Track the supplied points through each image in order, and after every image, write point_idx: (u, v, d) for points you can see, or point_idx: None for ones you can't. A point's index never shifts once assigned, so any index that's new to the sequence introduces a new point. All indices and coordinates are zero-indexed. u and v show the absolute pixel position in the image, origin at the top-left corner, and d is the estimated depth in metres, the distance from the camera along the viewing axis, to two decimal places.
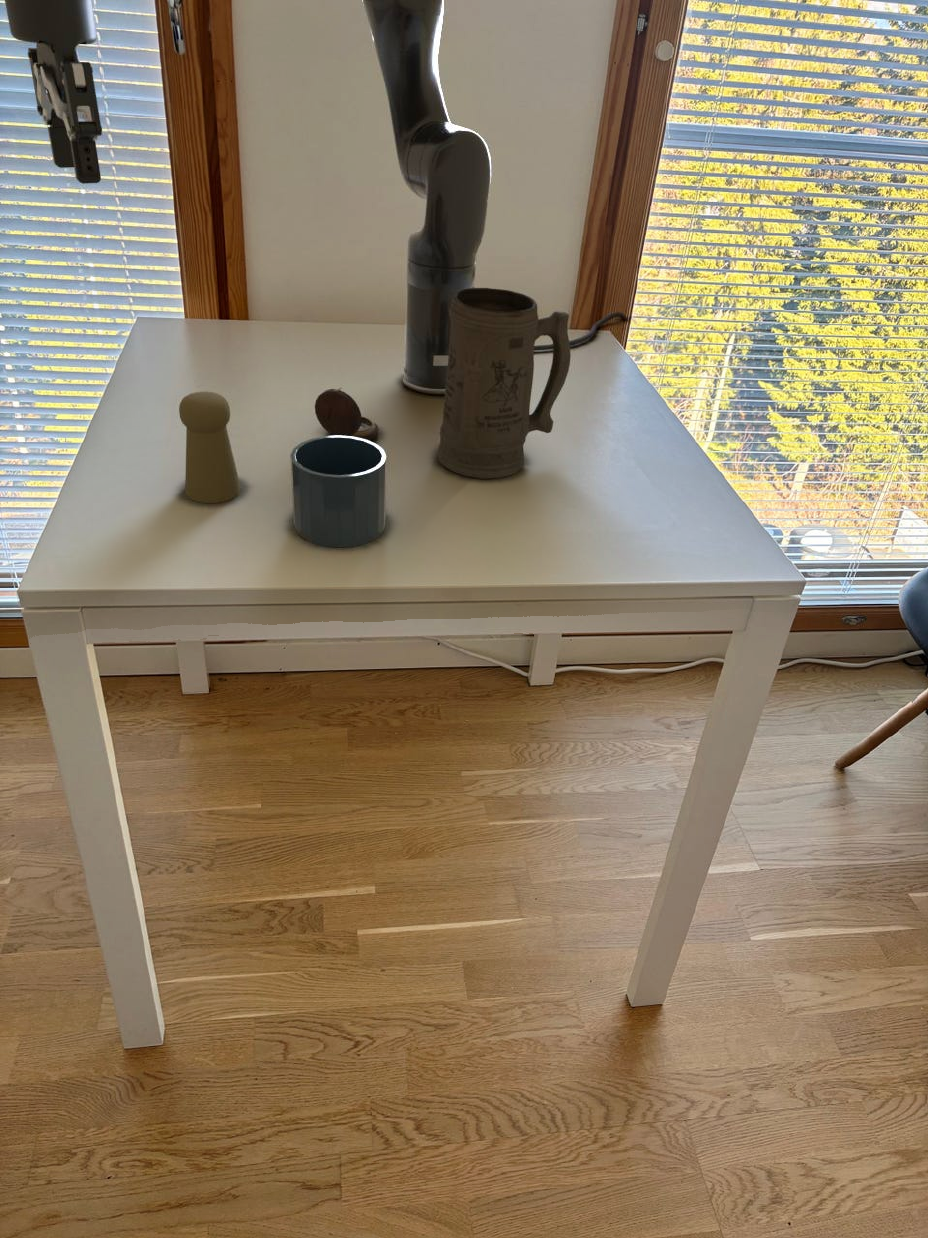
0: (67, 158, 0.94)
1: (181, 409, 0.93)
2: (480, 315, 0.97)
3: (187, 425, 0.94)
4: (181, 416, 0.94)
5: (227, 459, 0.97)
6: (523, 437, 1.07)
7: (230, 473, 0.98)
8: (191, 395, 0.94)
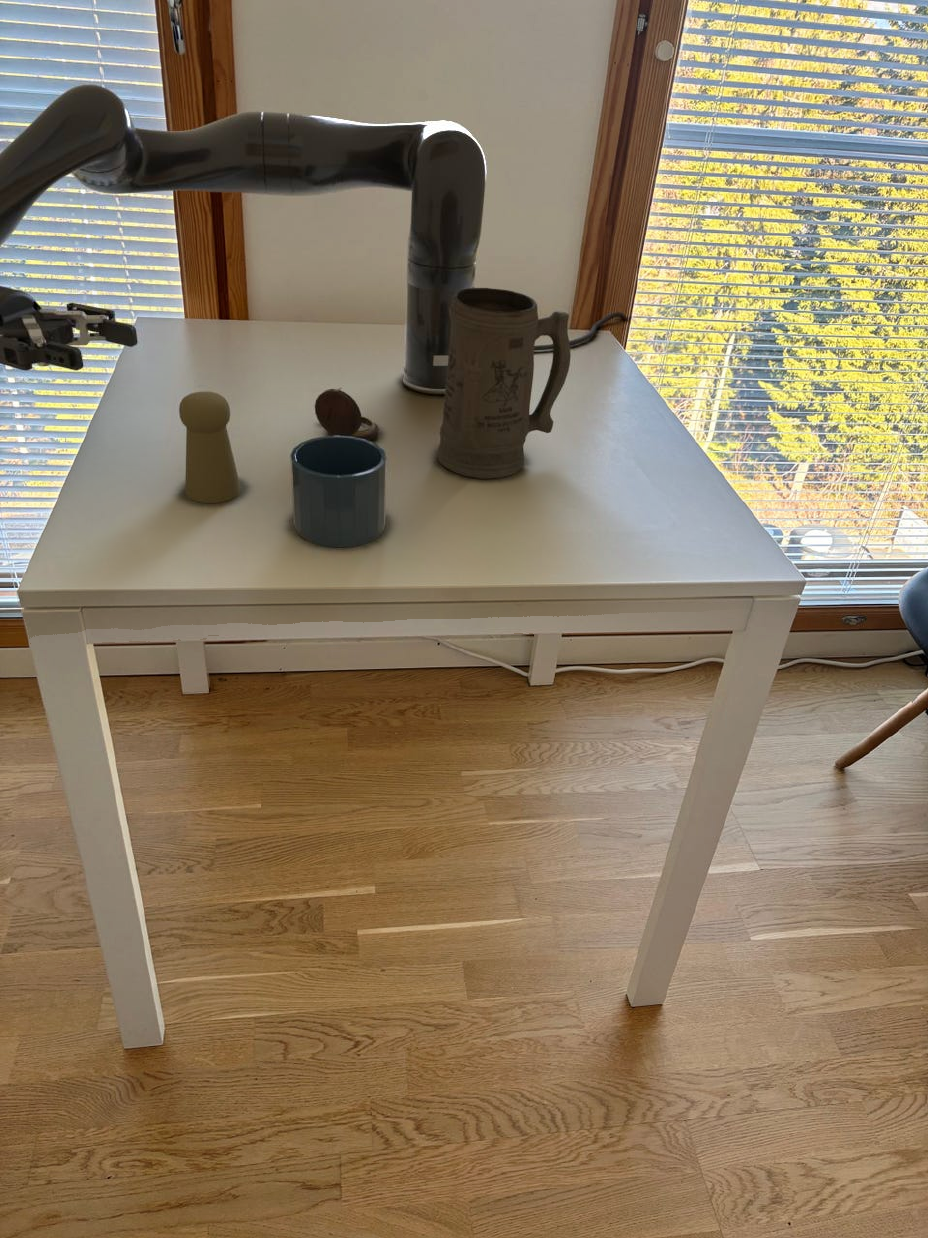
0: (126, 334, 0.98)
1: (181, 409, 0.93)
2: (480, 315, 0.97)
3: (187, 425, 0.94)
4: (181, 416, 0.94)
5: (227, 459, 0.97)
6: (523, 437, 1.07)
7: (230, 473, 0.98)
8: (191, 395, 0.94)
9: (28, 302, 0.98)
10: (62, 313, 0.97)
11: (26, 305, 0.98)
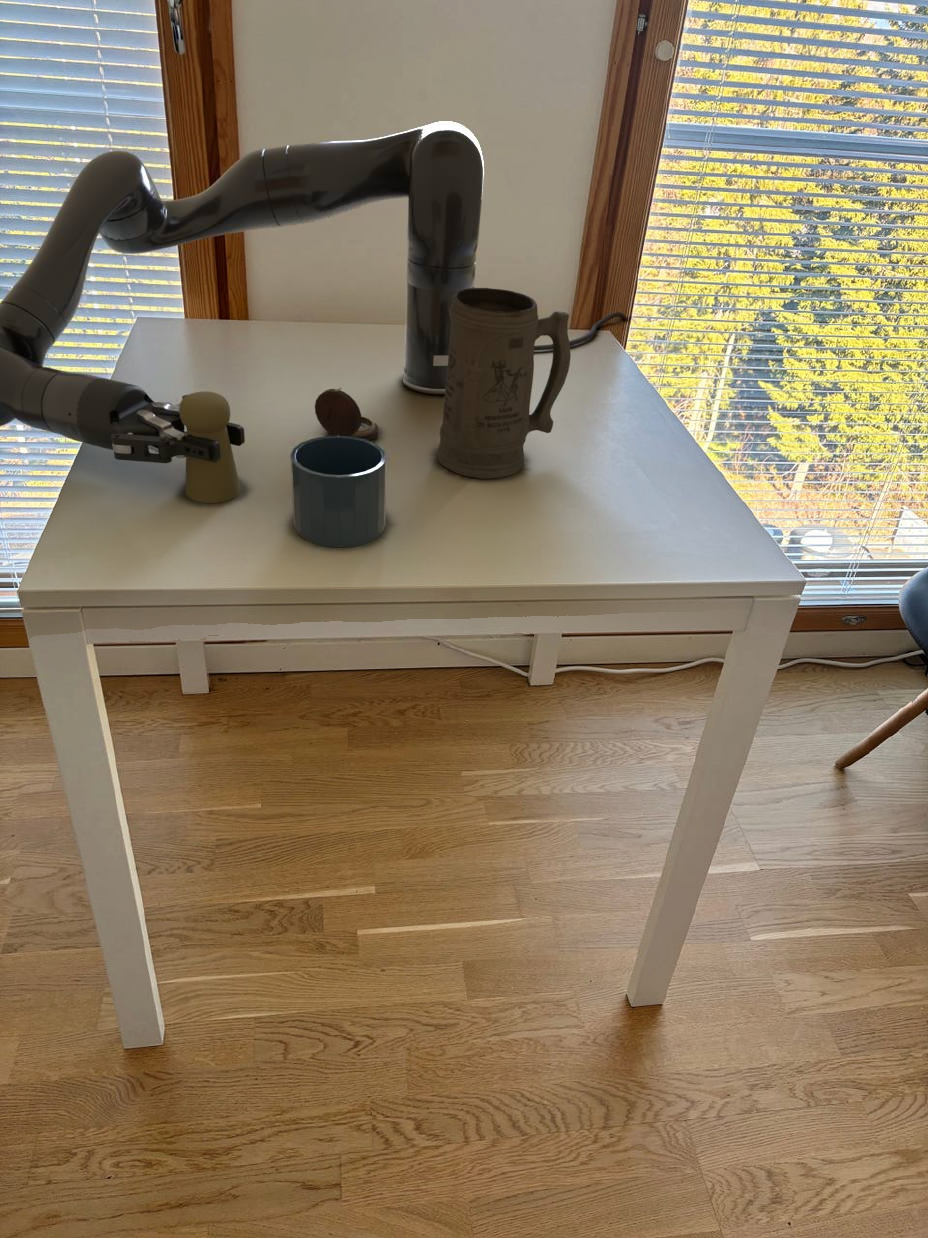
0: (234, 434, 0.98)
1: (182, 409, 0.93)
2: (480, 315, 0.97)
3: (187, 425, 0.94)
4: (181, 416, 0.94)
5: (227, 459, 0.97)
6: (523, 437, 1.07)
7: (230, 473, 0.98)
8: (191, 395, 0.94)
9: (140, 395, 0.99)
10: (174, 406, 0.99)
11: (138, 399, 0.99)
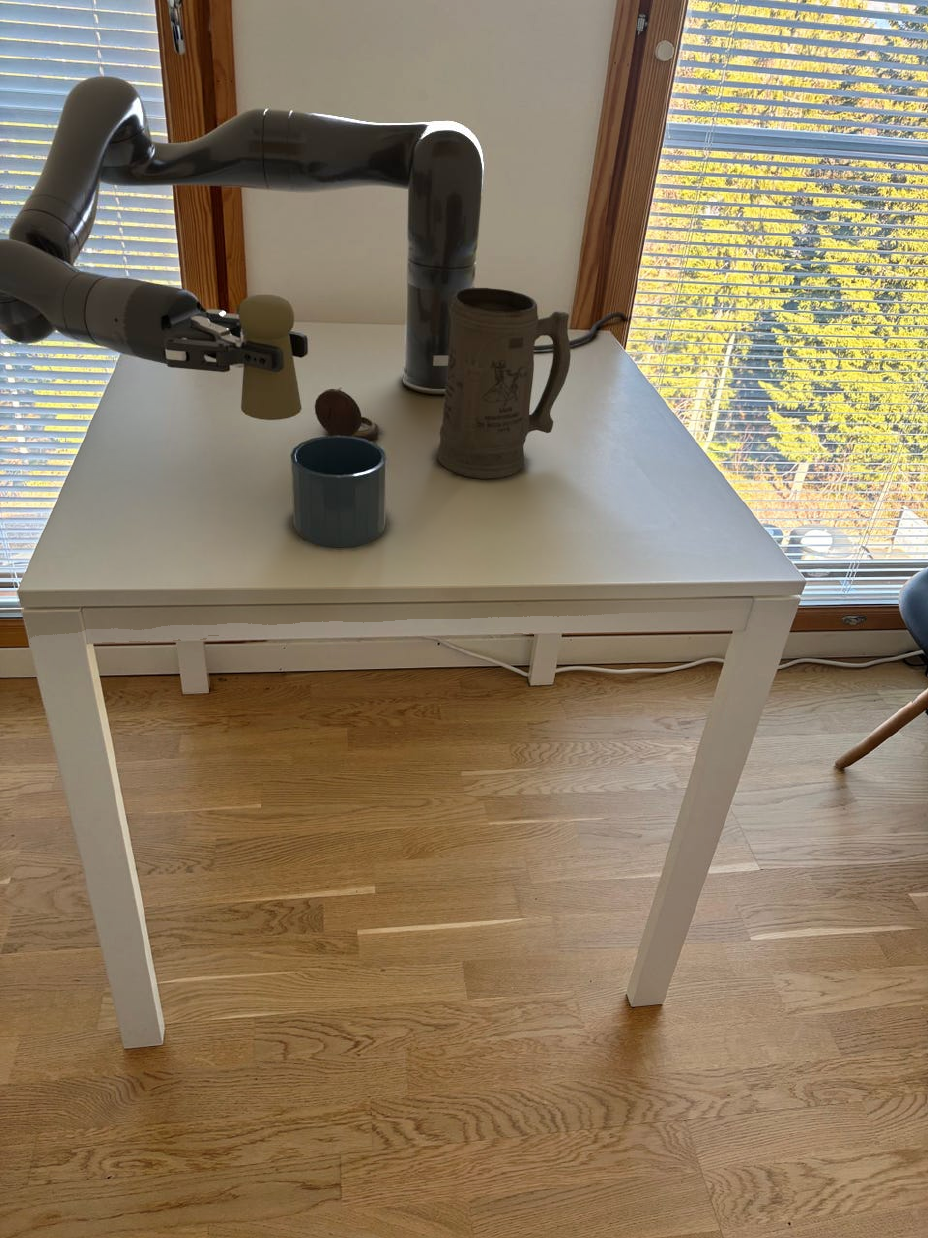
0: (296, 344, 0.89)
1: (242, 311, 0.84)
2: (480, 315, 0.97)
3: (248, 329, 0.85)
4: (241, 320, 0.85)
5: (289, 371, 0.88)
6: (523, 437, 1.07)
7: (291, 387, 0.89)
8: (252, 297, 0.85)
9: (193, 302, 0.91)
10: (230, 314, 0.90)
11: (191, 306, 0.90)
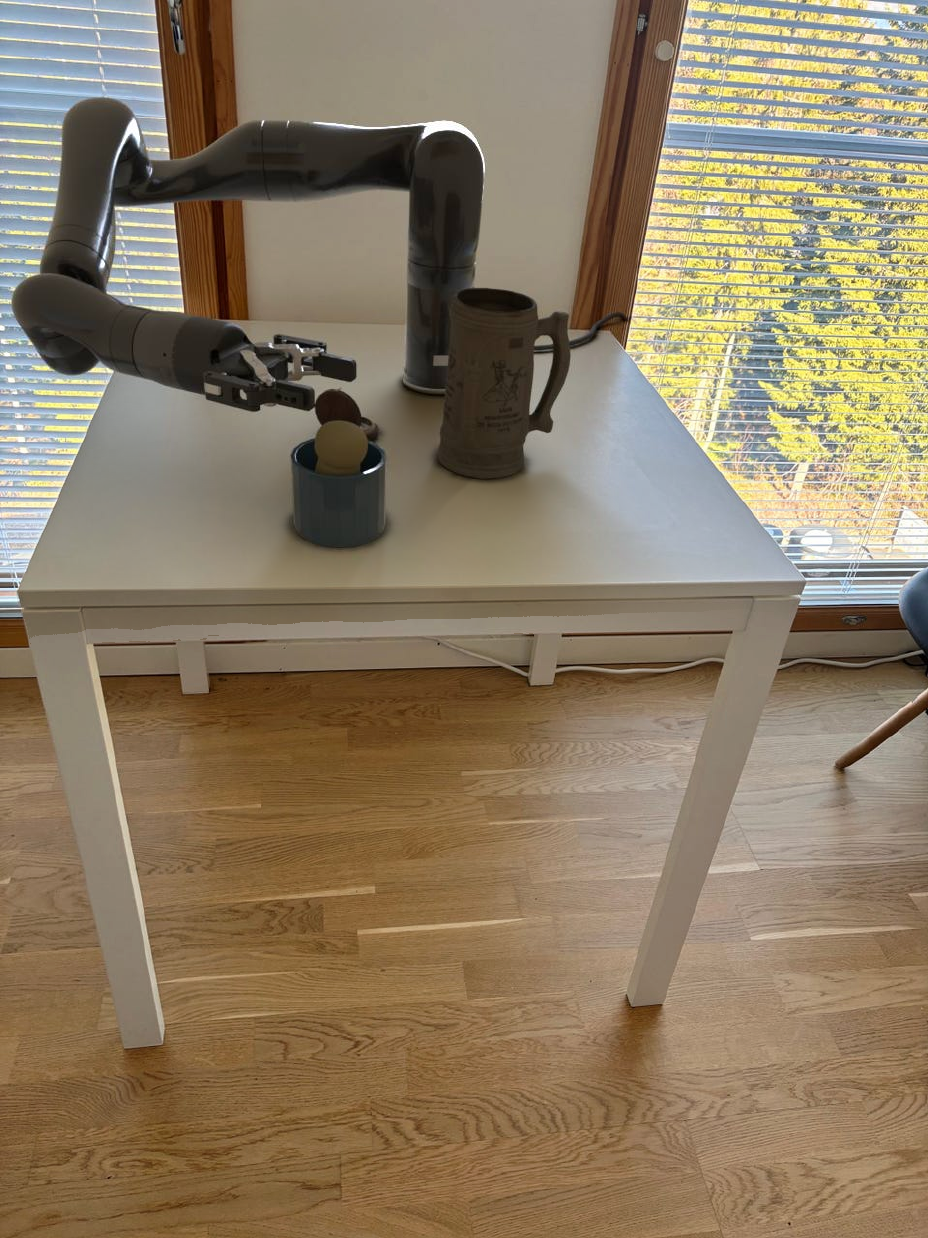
0: (345, 369, 0.91)
1: (322, 445, 0.87)
2: (480, 315, 0.97)
3: (326, 461, 0.87)
4: (320, 452, 0.87)
5: None
6: (523, 437, 1.07)
7: None
8: (329, 427, 0.87)
9: (240, 335, 0.90)
10: (278, 347, 0.90)
11: (238, 339, 0.90)
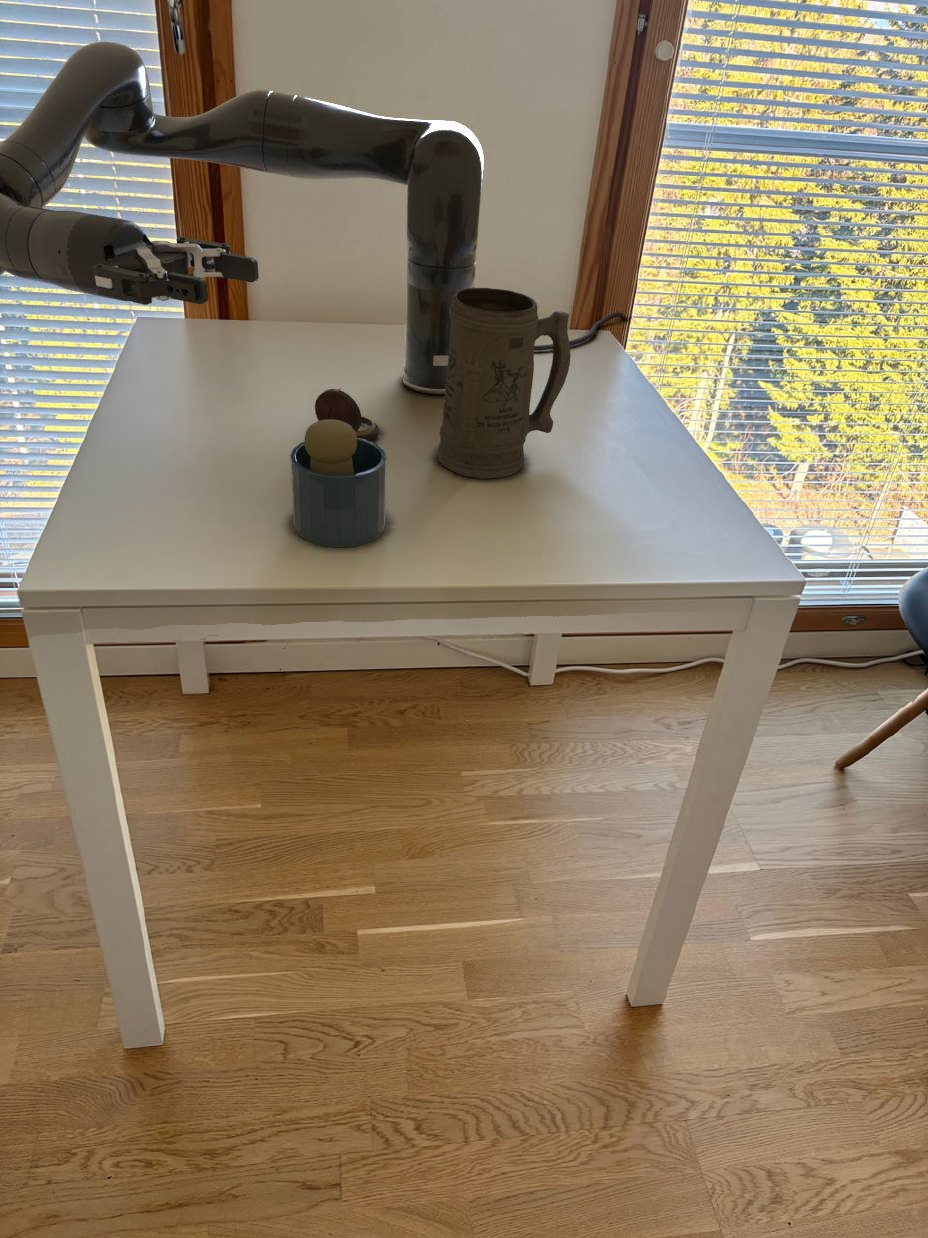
0: (246, 268, 0.89)
1: (311, 440, 0.88)
2: (480, 315, 0.97)
3: (316, 456, 0.89)
4: (310, 448, 0.88)
5: None
6: (523, 437, 1.07)
7: None
8: (317, 424, 0.89)
9: (138, 234, 0.89)
10: (177, 245, 0.88)
11: (136, 238, 0.88)
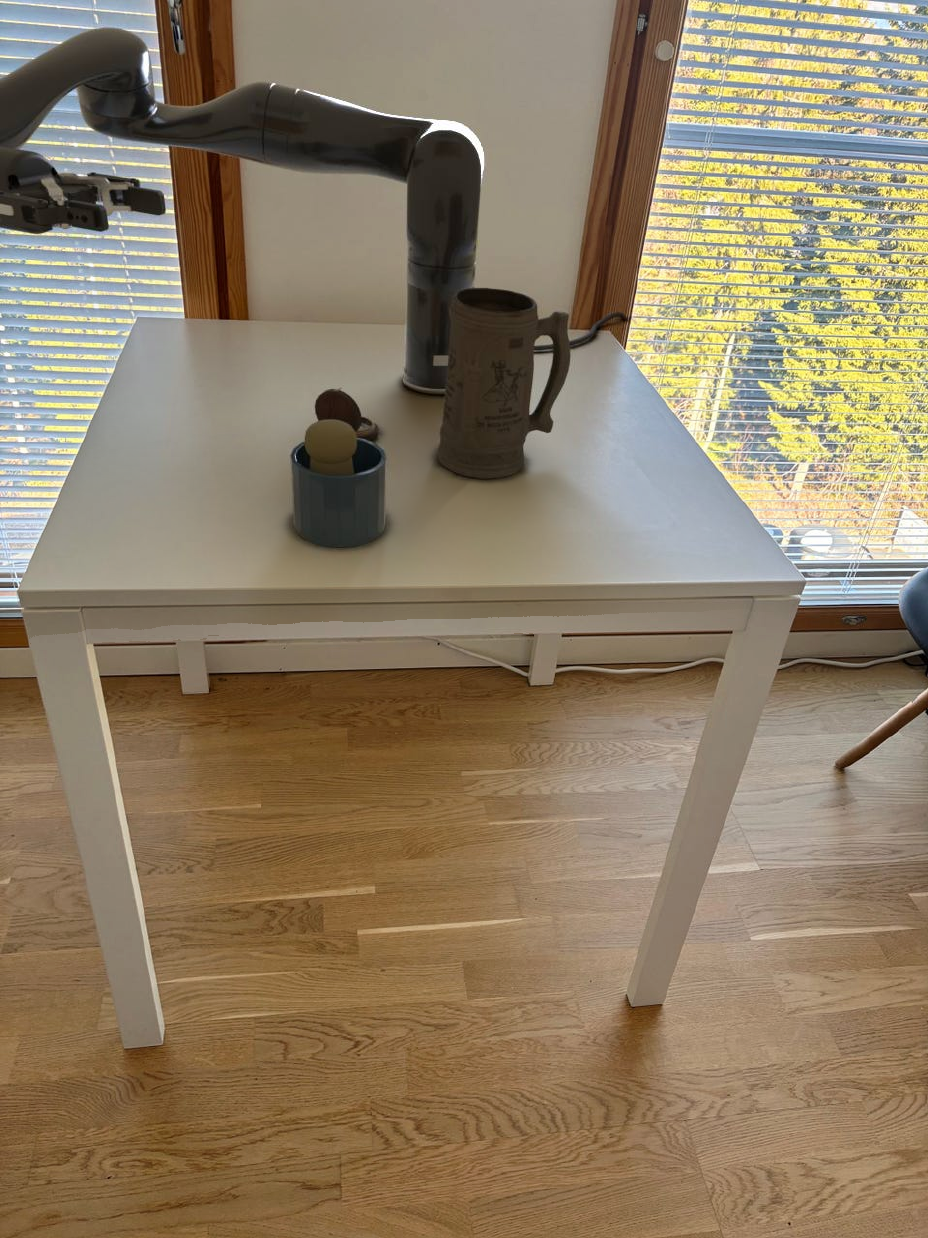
0: (153, 201, 0.89)
1: (311, 440, 0.88)
2: (480, 315, 0.97)
3: (316, 456, 0.89)
4: (310, 448, 0.88)
5: None
6: (523, 437, 1.07)
7: None
8: (317, 424, 0.89)
9: (46, 167, 0.89)
10: (83, 178, 0.89)
11: (44, 170, 0.89)
